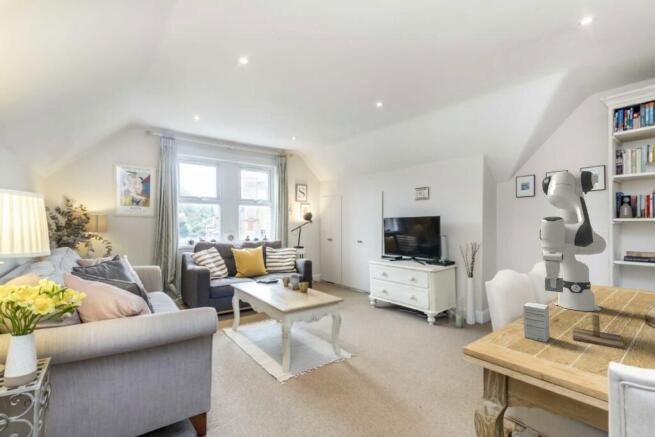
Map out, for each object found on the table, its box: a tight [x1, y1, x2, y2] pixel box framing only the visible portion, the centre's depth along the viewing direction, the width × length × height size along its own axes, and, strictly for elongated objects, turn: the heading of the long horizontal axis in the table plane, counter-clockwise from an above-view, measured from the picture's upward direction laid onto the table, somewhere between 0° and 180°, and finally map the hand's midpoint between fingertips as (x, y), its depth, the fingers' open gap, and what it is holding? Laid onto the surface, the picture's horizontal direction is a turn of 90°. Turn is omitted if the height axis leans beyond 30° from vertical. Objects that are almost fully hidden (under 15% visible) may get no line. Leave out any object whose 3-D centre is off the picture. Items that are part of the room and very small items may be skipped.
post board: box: [572, 314, 625, 350], centre depth 116 cm, size 14×14×9 cm
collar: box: [544, 276, 563, 293], centre depth 131 cm, size 6×6×5 cm
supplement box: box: [522, 301, 551, 343], centre depth 119 cm, size 7×7×13 cm
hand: (554, 285), depth 131 cm, fingers closed on collar, 6 cm apart
